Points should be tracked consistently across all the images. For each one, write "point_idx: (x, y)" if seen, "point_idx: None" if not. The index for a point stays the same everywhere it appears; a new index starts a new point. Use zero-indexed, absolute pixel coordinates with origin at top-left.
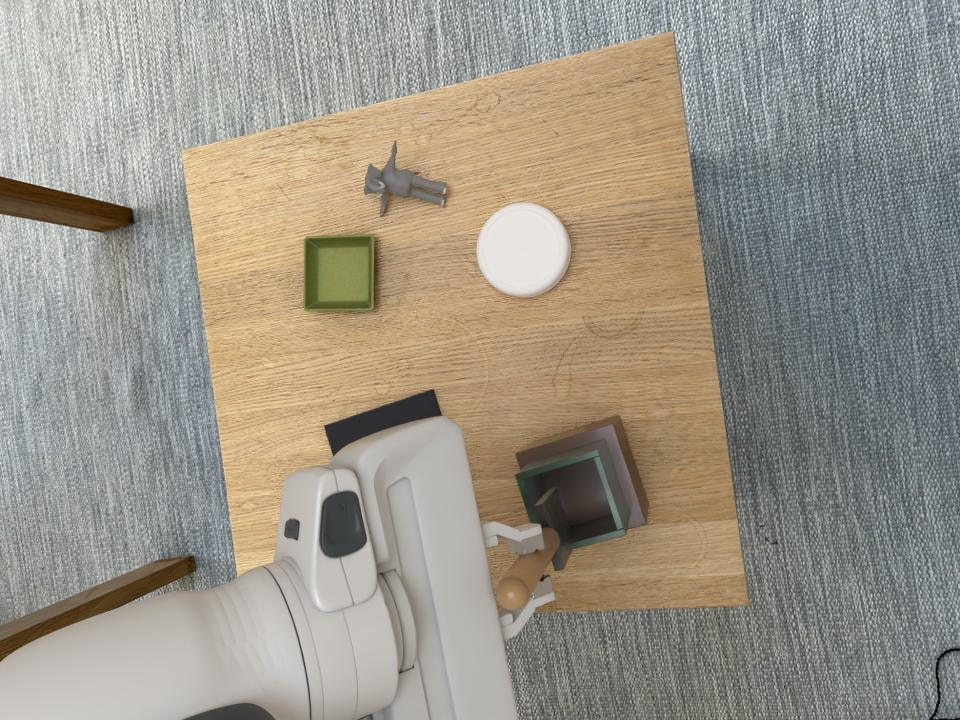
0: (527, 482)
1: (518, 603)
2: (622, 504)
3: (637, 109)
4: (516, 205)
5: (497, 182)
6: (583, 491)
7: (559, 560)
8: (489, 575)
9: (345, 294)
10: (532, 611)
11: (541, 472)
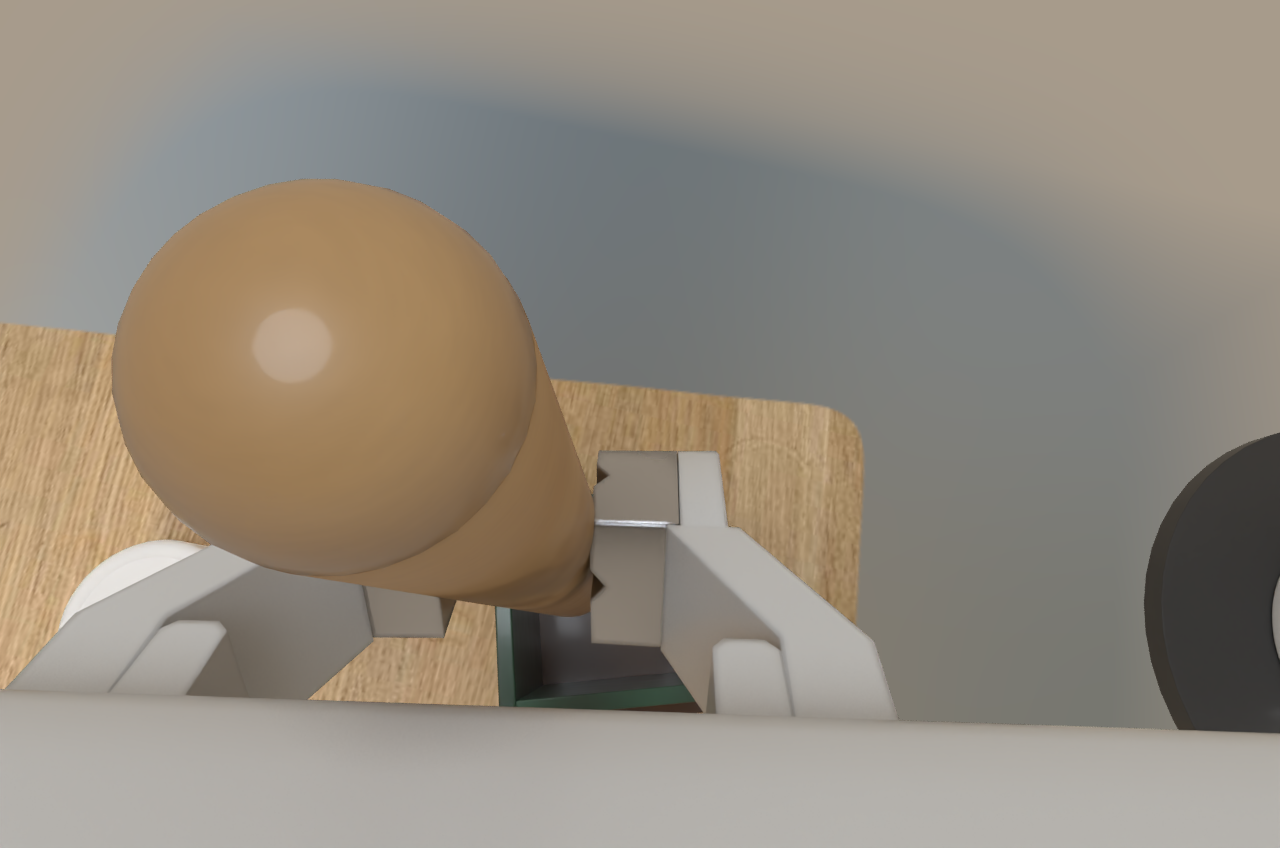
0: (536, 695)
1: (389, 235)
2: None
3: (32, 383)
4: (63, 621)
5: (32, 657)
6: None
7: None
8: (317, 706)
9: None
10: (743, 539)
11: (511, 648)
